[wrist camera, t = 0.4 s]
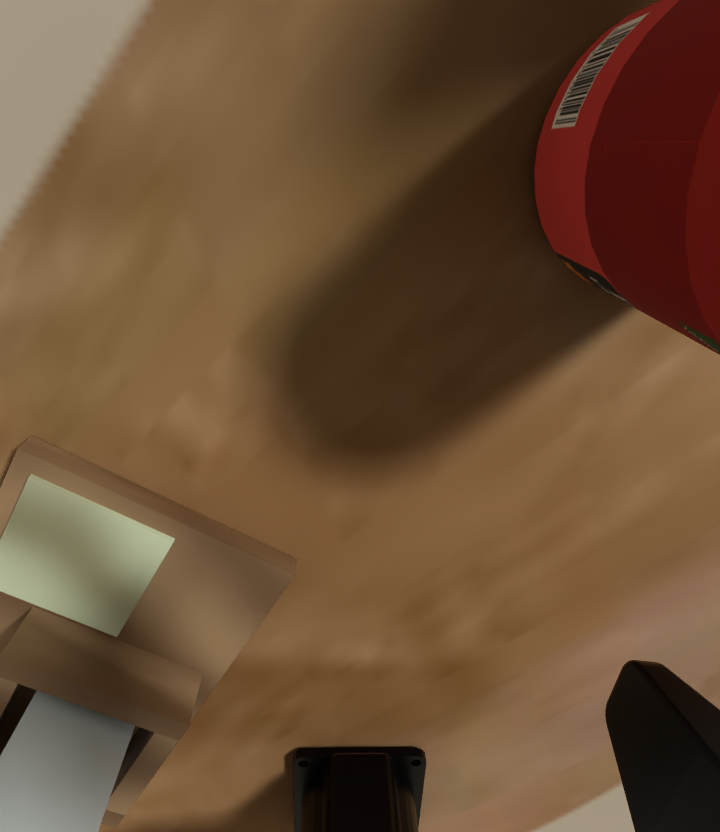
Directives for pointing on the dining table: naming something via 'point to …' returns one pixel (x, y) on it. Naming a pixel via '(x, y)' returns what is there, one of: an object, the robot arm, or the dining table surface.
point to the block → (60, 767)
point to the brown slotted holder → (120, 603)
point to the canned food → (641, 166)
